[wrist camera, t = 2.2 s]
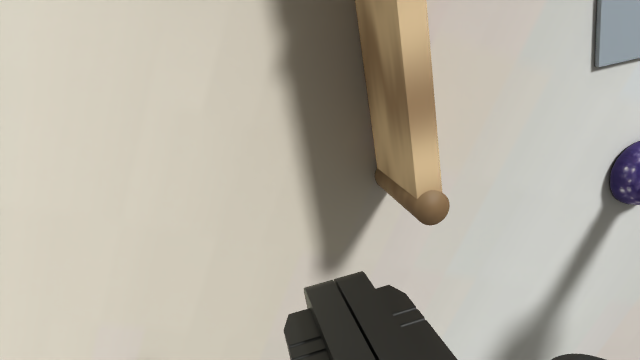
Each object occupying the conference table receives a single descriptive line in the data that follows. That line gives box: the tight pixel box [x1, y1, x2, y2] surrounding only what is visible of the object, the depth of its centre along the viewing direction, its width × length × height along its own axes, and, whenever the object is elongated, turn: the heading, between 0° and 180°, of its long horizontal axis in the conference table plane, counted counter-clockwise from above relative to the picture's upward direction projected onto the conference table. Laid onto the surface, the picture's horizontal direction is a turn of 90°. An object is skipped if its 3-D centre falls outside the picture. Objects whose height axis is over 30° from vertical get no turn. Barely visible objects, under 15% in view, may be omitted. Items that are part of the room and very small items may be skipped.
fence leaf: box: [355, 0, 449, 225], centre depth 21 cm, size 13×2×5 cm, turn 10°
